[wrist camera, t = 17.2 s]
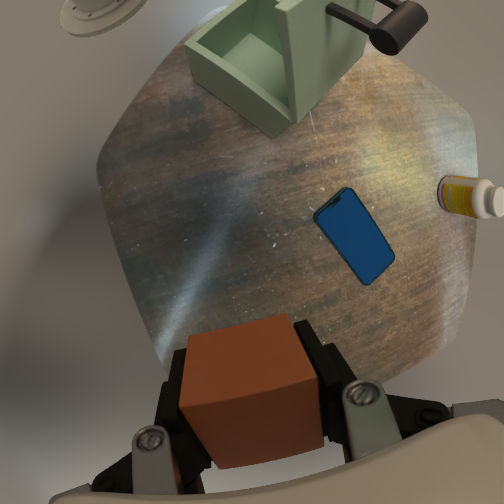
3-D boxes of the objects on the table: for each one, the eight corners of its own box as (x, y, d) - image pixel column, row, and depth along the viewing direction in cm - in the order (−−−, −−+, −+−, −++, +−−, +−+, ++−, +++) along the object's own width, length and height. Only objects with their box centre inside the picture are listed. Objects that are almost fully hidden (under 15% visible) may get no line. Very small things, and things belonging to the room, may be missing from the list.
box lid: (273, 6, 10) (379, 59, 9) (375, -52, 8) (450, -12, 7) (290, 120, 24) (341, 156, 23) (356, 52, 22) (401, 82, 22)
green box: (193, 80, 33) (183, 43, 21) (248, 29, 31) (259, -16, 20) (271, 139, 36) (292, 123, 24) (322, 84, 34) (357, 55, 23)
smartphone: (365, 288, 42) (312, 217, 38) (363, 286, 43) (310, 216, 39) (397, 257, 42) (349, 184, 37) (394, 256, 42) (346, 183, 38)
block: (188, 335, 11) (177, 406, 7) (286, 311, 11) (317, 375, 7) (216, 402, 12) (218, 470, 8) (299, 382, 12) (325, 447, 8)
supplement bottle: (445, 218, 42) (496, 233, 29) (431, 189, 40) (485, 198, 28) (463, 196, 41) (512, 206, 29) (450, 168, 40) (502, 171, 27)
